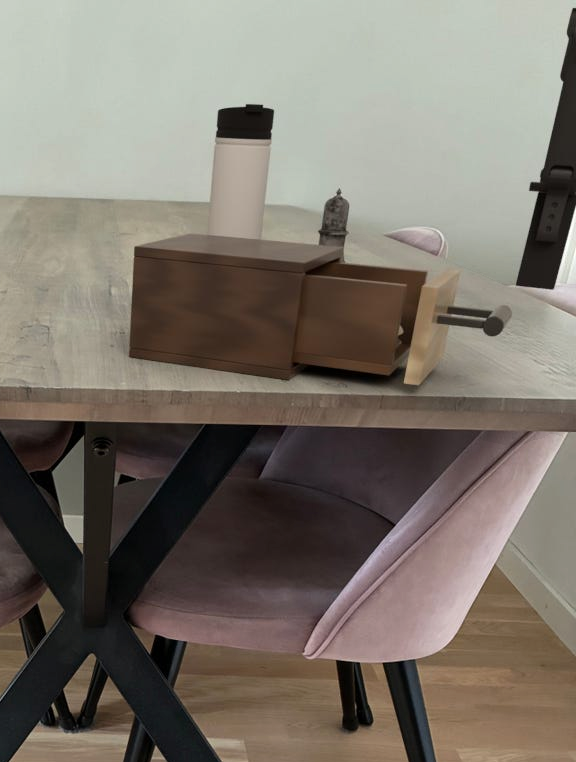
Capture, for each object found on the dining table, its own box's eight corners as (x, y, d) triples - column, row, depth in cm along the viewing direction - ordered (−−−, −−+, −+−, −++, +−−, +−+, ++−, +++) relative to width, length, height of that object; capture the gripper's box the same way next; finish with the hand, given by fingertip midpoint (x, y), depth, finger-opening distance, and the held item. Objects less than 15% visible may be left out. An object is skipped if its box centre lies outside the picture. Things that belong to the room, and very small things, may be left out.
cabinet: (328, 352, 88) (344, 247, 84) (288, 380, 78) (304, 262, 74) (182, 333, 94) (190, 233, 89) (128, 356, 84) (133, 246, 79)
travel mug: (210, 300, 111) (227, 103, 101) (196, 290, 116) (211, 103, 106) (262, 300, 111) (284, 105, 102) (245, 291, 117) (265, 105, 107)
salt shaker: (357, 299, 115) (375, 189, 109) (332, 304, 111) (348, 191, 105) (316, 292, 118) (330, 185, 113) (289, 297, 115) (303, 187, 109)
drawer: (501, 366, 82) (523, 275, 78) (485, 395, 73) (508, 294, 69) (293, 339, 89) (304, 255, 85) (254, 362, 80) (264, 269, 76)
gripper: (574, -78, 68) (493, 271, 80) (563, -116, 58) (472, 292, 69) (693, -82, 65) (591, 281, 77) (703, -122, 55) (584, 304, 66)
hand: (535, 286), depth 73 cm, fingers closed
